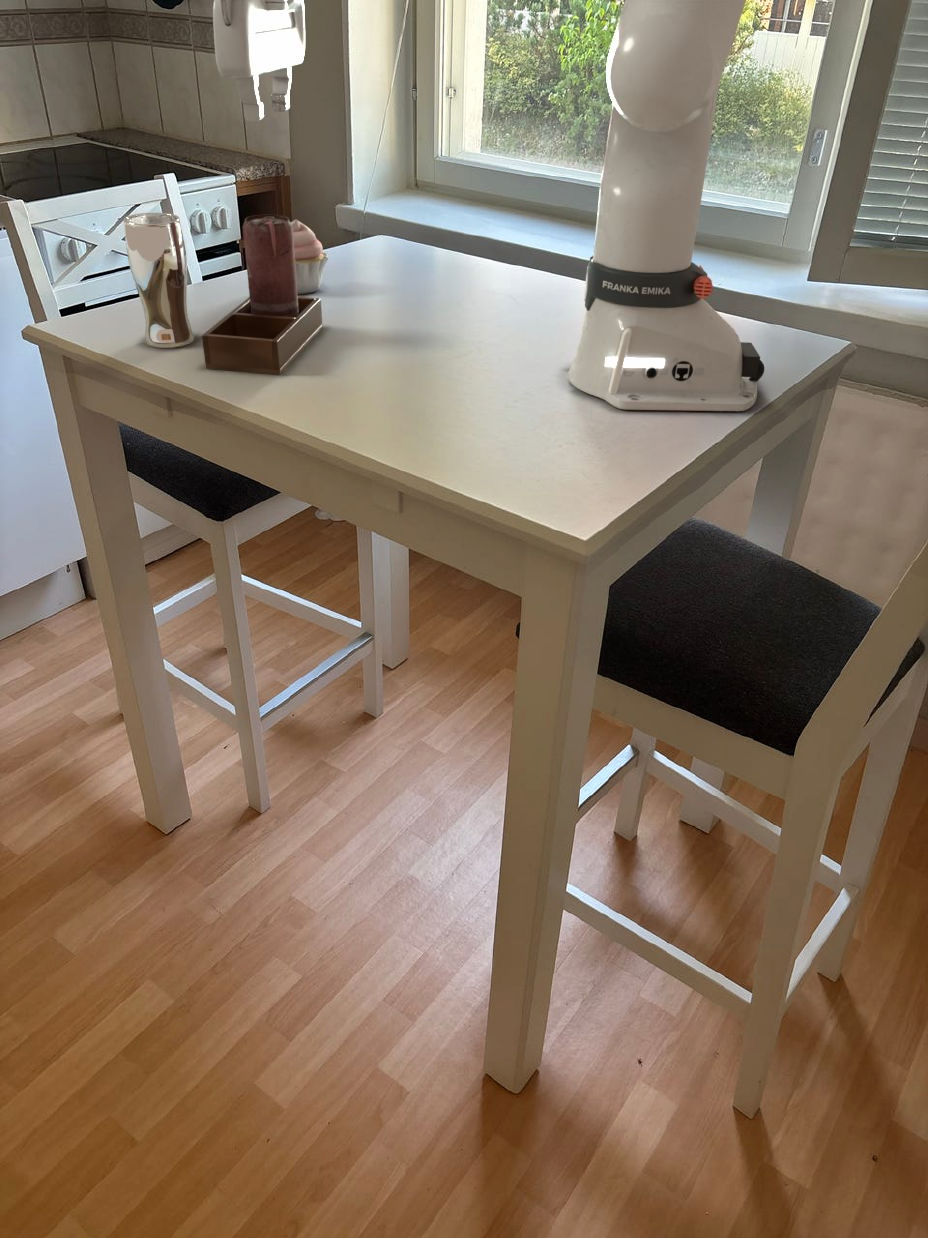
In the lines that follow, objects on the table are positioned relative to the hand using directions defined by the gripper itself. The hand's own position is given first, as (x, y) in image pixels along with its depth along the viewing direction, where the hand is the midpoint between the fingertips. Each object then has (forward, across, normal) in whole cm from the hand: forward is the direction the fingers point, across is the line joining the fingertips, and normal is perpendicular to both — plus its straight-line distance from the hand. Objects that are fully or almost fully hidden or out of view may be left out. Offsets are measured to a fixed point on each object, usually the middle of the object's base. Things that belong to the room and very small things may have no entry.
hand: (268, 115), depth 111 cm
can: (+26, 0, +1) cm, 26 cm away
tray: (+26, -5, +1) cm, 27 cm away
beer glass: (+26, -5, +14) cm, 30 cm away
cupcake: (+26, +22, +5) cm, 35 cm away
